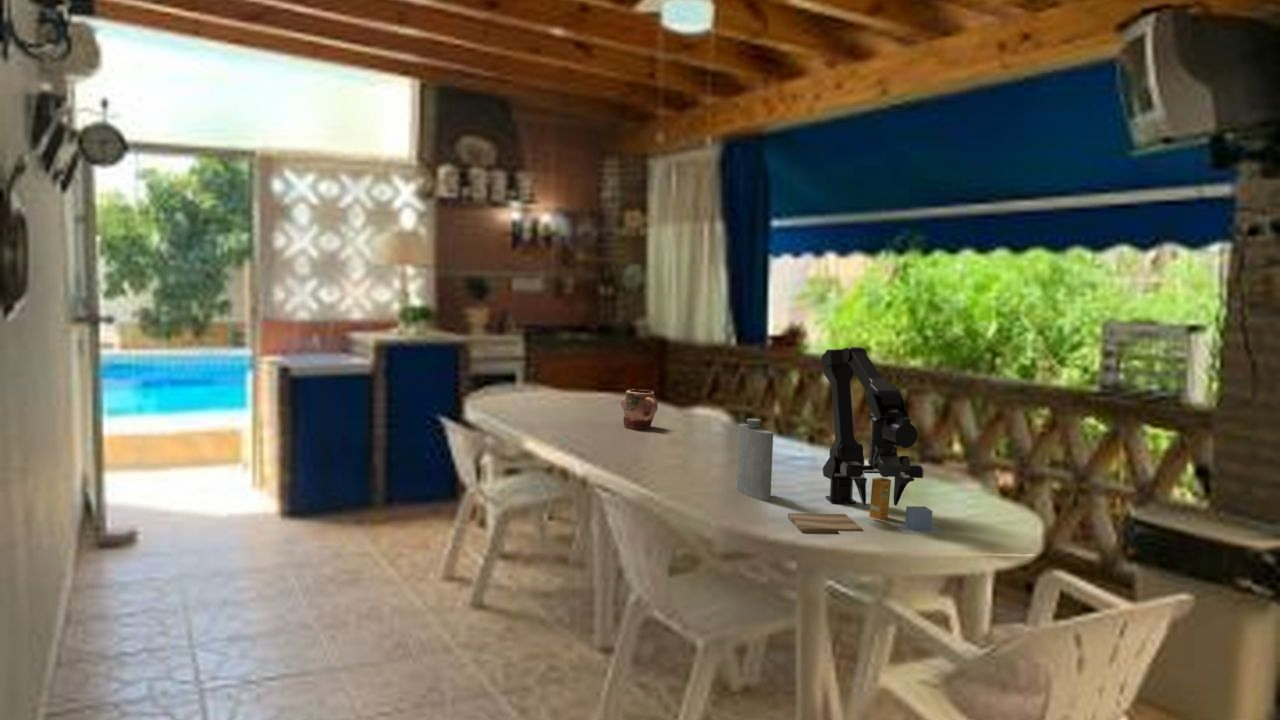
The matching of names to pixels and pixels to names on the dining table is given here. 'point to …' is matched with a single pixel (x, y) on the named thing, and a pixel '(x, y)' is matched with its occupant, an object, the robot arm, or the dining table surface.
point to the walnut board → (823, 523)
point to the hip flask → (754, 460)
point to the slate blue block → (918, 518)
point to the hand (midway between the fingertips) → (879, 505)
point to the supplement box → (880, 498)
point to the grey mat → (906, 530)
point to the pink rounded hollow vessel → (639, 408)
